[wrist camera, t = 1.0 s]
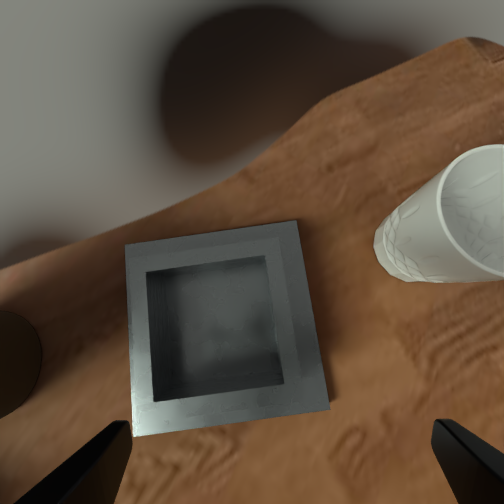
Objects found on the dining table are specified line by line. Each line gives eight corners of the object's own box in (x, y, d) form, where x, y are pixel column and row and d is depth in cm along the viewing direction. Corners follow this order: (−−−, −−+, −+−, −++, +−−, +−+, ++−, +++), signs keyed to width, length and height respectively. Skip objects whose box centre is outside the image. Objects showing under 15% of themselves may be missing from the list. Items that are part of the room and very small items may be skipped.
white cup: (422, 192, 25) (525, 122, 15) (470, 265, 24) (619, 239, 14) (350, 228, 25) (409, 179, 15) (395, 304, 23) (493, 305, 13)
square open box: (327, 404, 22) (346, 434, 17) (139, 430, 22) (103, 467, 17) (295, 223, 25) (303, 204, 20) (130, 247, 25) (98, 233, 20)
